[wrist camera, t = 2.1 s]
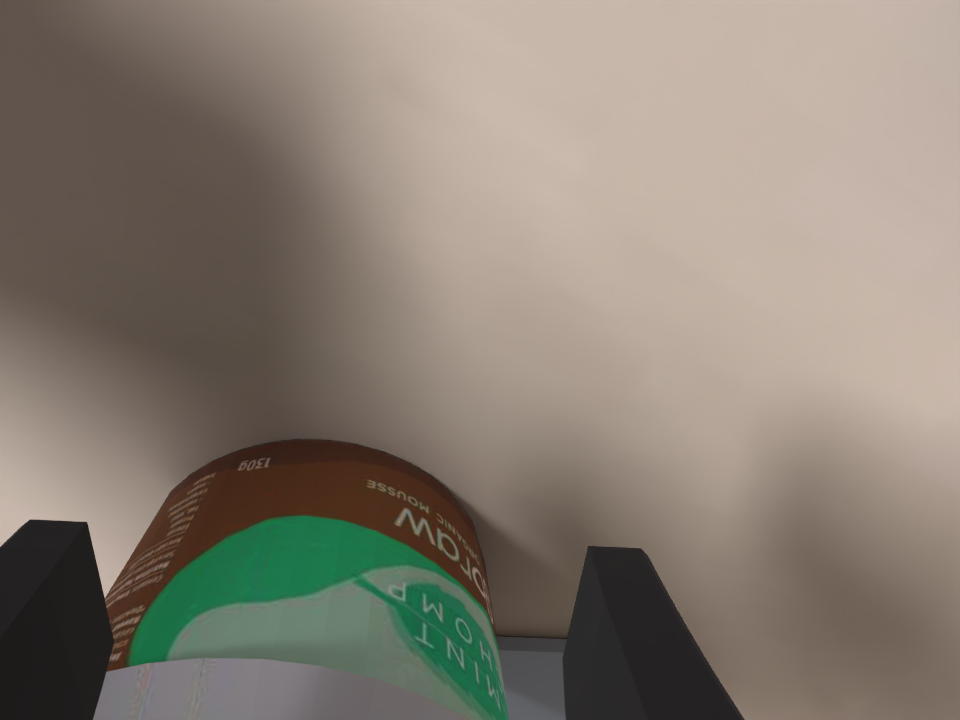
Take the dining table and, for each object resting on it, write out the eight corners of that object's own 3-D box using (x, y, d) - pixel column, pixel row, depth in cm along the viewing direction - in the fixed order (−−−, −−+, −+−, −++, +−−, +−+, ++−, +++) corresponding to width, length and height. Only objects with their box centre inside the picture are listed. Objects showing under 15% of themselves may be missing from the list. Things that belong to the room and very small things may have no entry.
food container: (621, 569, 25) (710, 957, 16) (470, 677, 27) (479, 1070, 19) (268, 303, 20) (135, 649, 12) (121, 459, 22) (-83, 849, 14)
